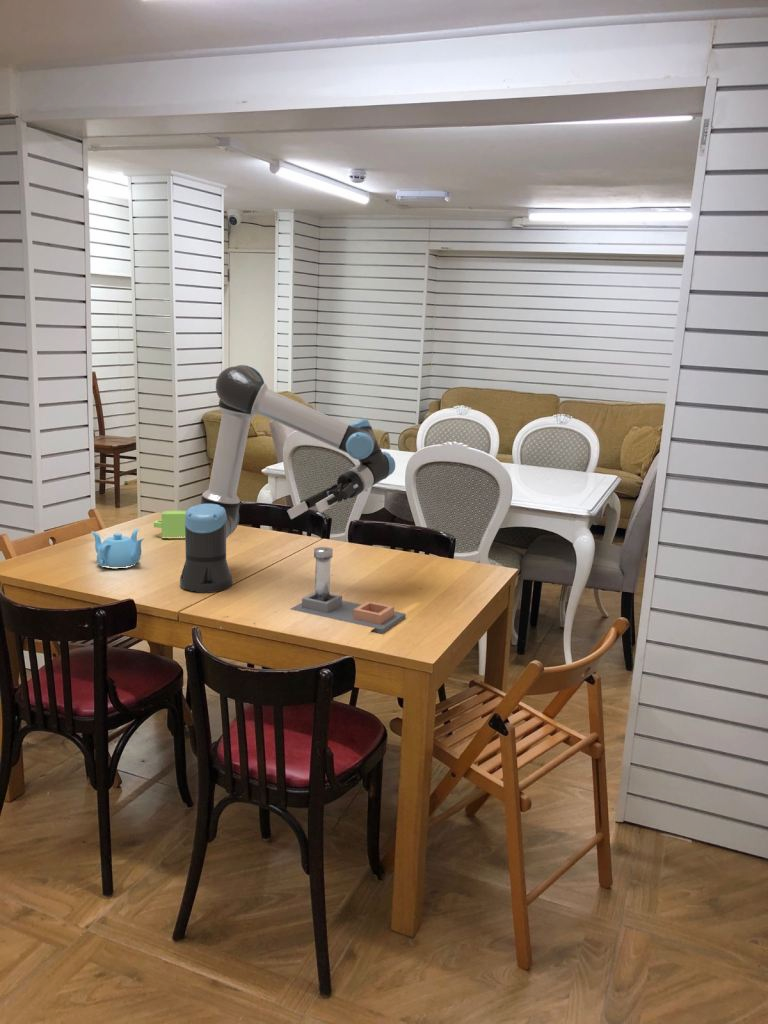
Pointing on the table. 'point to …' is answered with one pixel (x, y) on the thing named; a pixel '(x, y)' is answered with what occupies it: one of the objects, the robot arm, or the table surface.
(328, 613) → the dock board
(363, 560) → the table surface
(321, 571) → the pin
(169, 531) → the gearbox
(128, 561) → the teapot
